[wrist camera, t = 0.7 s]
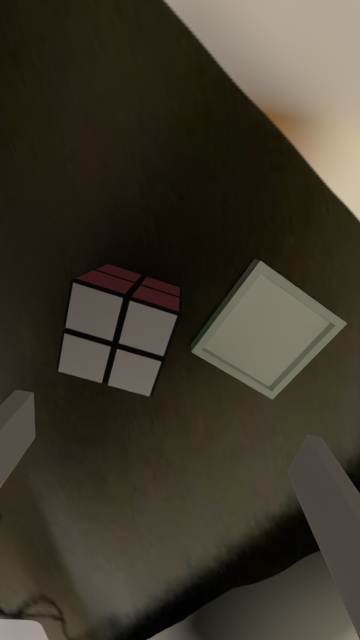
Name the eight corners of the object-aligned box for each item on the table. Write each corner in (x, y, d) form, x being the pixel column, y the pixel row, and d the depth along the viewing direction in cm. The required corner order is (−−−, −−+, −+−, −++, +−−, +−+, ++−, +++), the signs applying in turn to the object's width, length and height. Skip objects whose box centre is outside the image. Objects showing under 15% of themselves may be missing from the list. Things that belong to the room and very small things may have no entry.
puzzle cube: (105, 262, 29) (69, 277, 20) (182, 287, 30) (182, 313, 21) (91, 332, 32) (54, 373, 23) (160, 352, 33) (151, 399, 24)
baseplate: (190, 344, 33) (191, 351, 31) (254, 258, 28) (260, 260, 26) (267, 389, 35) (272, 399, 33) (336, 317, 31) (347, 323, 29)
